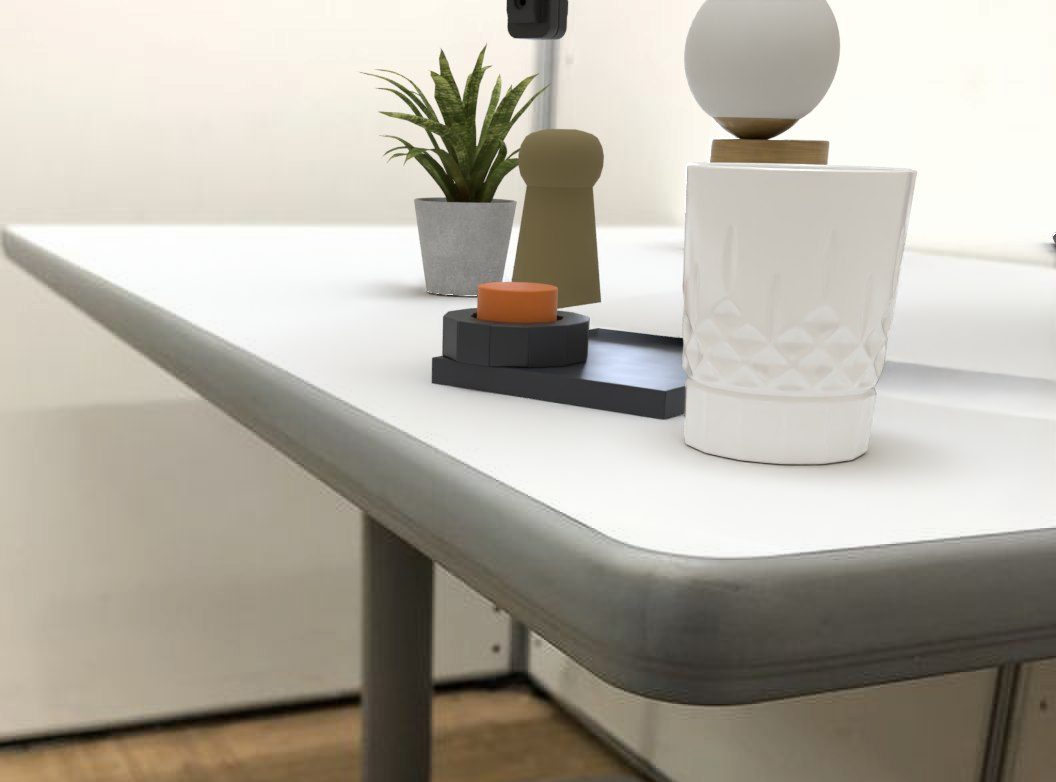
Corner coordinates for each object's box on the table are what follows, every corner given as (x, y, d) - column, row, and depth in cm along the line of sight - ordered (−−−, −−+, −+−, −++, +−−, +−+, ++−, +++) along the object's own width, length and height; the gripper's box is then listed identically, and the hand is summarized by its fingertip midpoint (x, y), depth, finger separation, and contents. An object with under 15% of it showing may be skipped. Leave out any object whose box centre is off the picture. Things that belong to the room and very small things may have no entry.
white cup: (624, 442, 53) (641, 162, 49) (745, 417, 58) (767, 162, 55) (807, 482, 47) (839, 170, 44) (922, 449, 53) (958, 170, 49)
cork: (497, 317, 86) (502, 127, 83) (516, 306, 92) (522, 128, 88) (595, 322, 85) (605, 130, 81) (608, 310, 90) (618, 130, 87)
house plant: (359, 277, 106) (359, 45, 101) (541, 280, 107) (551, 50, 102) (353, 300, 93) (353, 33, 88) (562, 303, 93) (574, 39, 88)
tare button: (507, 318, 66) (508, 280, 65) (571, 325, 64) (573, 286, 63) (460, 325, 63) (461, 285, 63) (526, 333, 61) (528, 292, 61)
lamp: (760, 262, 127) (787, -42, 119) (640, 249, 137) (658, -32, 129) (854, 254, 137) (885, -27, 129) (736, 243, 147) (757, -18, 138)
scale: (584, 349, 75) (587, 291, 74) (809, 378, 67) (816, 314, 66) (414, 382, 64) (415, 315, 63) (660, 421, 57) (666, 346, 56)
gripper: (540, -503, 50) (526, 28, 55) (708, -394, 60) (682, 45, 65) (374, -457, 54) (376, 32, 59) (558, -362, 64) (545, 47, 69)
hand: (537, 38), depth 62 cm, fingers closed
